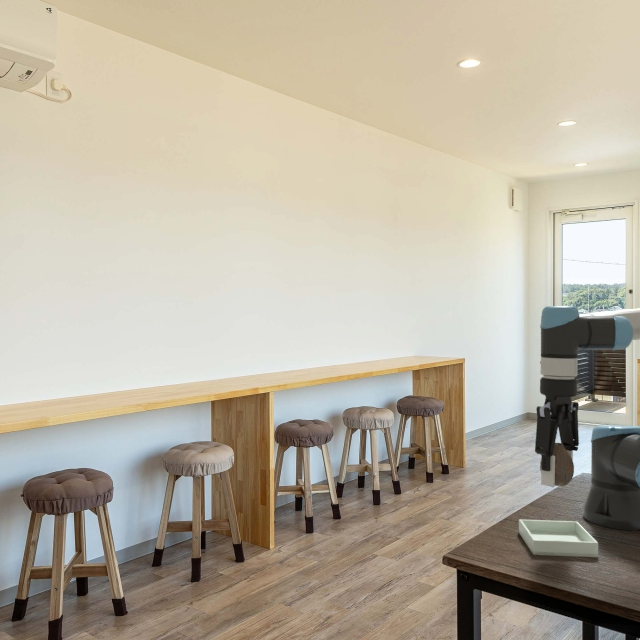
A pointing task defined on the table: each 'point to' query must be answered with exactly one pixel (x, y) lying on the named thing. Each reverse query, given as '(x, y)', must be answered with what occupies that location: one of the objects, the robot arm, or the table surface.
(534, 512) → the table surface
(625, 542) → the table surface
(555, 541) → the tray
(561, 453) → the vase
